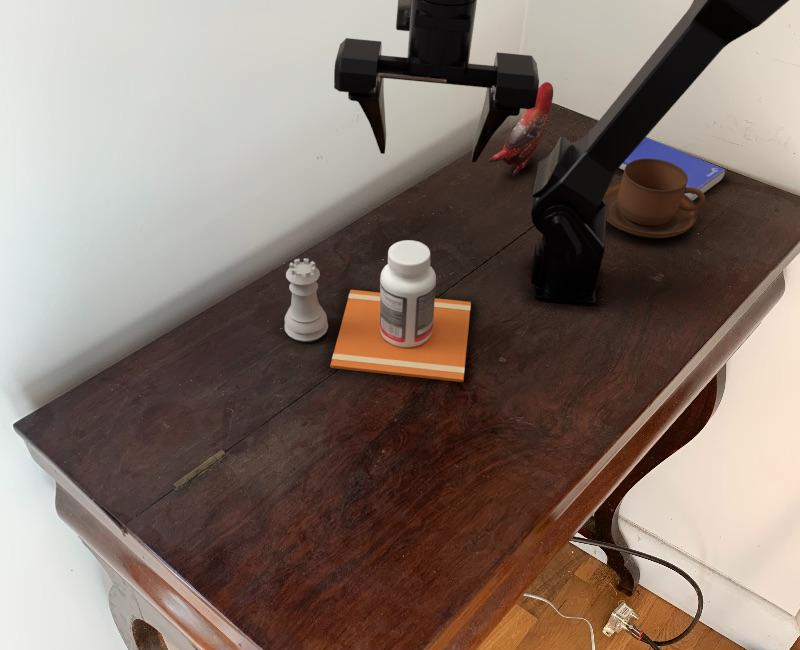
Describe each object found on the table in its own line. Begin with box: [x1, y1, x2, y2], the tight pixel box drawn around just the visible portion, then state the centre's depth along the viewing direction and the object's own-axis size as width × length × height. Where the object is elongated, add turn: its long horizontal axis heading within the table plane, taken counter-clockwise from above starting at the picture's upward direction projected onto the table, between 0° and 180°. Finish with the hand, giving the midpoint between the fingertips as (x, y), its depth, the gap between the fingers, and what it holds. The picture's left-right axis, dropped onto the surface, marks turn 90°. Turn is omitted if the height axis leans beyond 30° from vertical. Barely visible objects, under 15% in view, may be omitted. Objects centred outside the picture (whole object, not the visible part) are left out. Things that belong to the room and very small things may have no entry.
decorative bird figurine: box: [488, 81, 554, 176], centre depth 101 cm, size 3×18×10 cm, turn 149°
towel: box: [330, 289, 472, 383], centre depth 82 cm, size 13×12×1 cm
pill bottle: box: [379, 239, 437, 347], centre depth 78 cm, size 5×5×10 cm
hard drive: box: [618, 136, 726, 201], centre depth 106 cm, size 2×8×12 cm
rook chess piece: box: [284, 257, 329, 343], centre depth 79 cm, size 4×4×8 cm
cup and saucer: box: [603, 158, 706, 239], centre depth 96 cm, size 12×12×6 cm
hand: (428, 155), depth 81 cm, fingers open, 9 cm apart
